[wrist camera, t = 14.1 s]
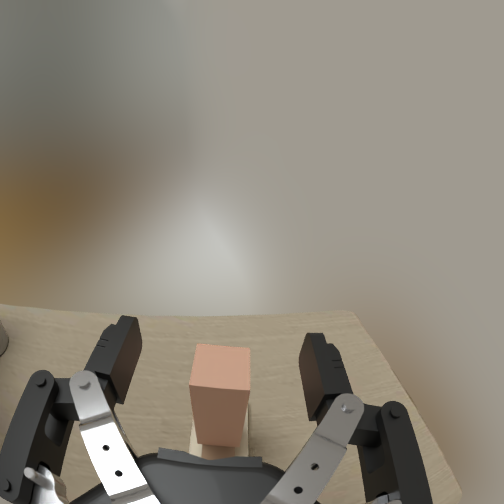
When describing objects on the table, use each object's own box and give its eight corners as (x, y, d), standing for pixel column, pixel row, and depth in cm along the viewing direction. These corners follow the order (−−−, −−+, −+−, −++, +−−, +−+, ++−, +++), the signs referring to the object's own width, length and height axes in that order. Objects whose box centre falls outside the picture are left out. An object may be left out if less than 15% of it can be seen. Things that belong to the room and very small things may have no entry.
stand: (186, 488, 21) (181, 479, 19) (196, 399, 34) (195, 379, 31) (247, 492, 22) (252, 484, 19) (246, 403, 34) (249, 383, 32)
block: (197, 443, 23) (189, 384, 18) (201, 411, 27) (197, 343, 22) (239, 447, 23) (250, 390, 18) (240, 414, 28) (249, 347, 22)
